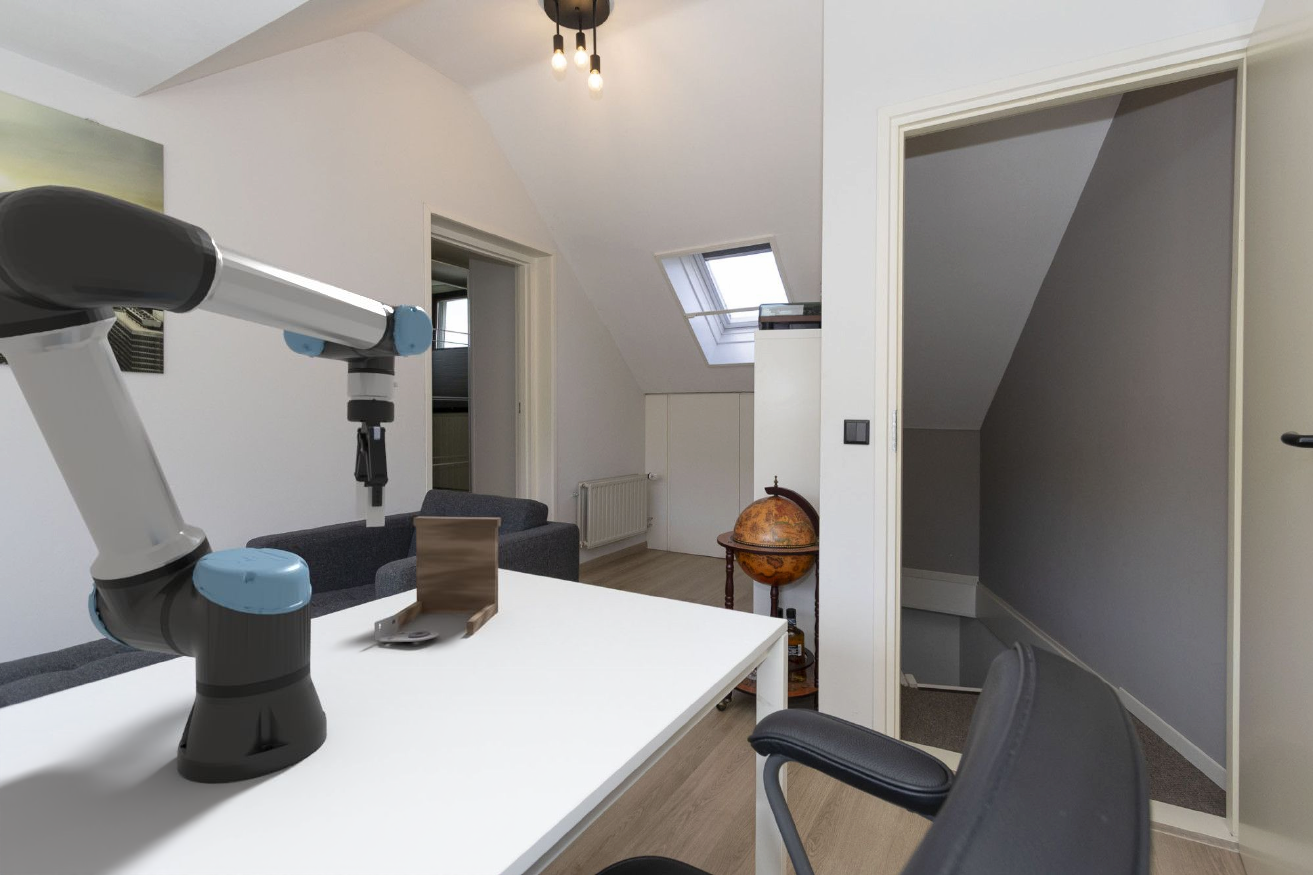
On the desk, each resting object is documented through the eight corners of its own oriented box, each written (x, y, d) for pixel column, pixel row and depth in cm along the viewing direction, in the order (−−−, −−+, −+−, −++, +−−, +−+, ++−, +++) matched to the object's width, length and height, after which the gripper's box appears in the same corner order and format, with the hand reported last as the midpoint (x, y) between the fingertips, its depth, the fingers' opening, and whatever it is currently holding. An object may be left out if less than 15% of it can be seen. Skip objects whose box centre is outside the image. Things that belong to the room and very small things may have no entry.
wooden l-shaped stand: (475, 635, 119) (475, 529, 119) (384, 632, 120) (383, 527, 120) (500, 612, 134) (500, 517, 133) (418, 610, 135) (418, 516, 134)
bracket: (425, 645, 111) (426, 625, 111) (373, 642, 113) (374, 621, 113) (445, 636, 118) (446, 617, 118) (396, 632, 120) (396, 614, 120)
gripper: (408, 397, 104) (406, 529, 104) (382, 403, 125) (380, 513, 125) (357, 394, 100) (355, 532, 100) (339, 402, 121) (337, 515, 121)
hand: (369, 521), depth 113 cm, fingers open, 13 cm apart
